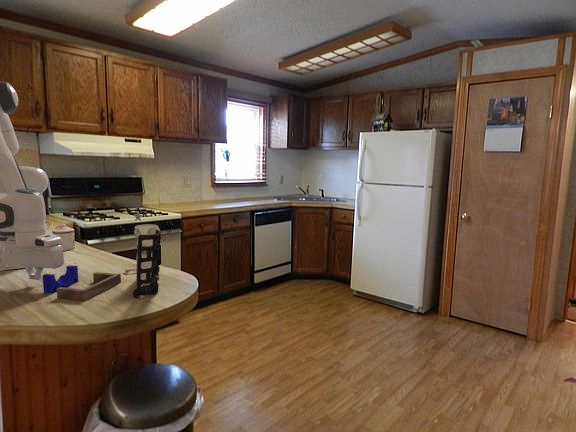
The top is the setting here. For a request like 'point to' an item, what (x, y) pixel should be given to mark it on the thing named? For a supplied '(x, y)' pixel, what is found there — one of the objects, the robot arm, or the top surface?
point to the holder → (149, 271)
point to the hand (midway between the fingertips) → (35, 279)
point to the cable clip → (60, 280)
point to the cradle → (90, 287)
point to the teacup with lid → (65, 237)
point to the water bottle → (145, 242)
